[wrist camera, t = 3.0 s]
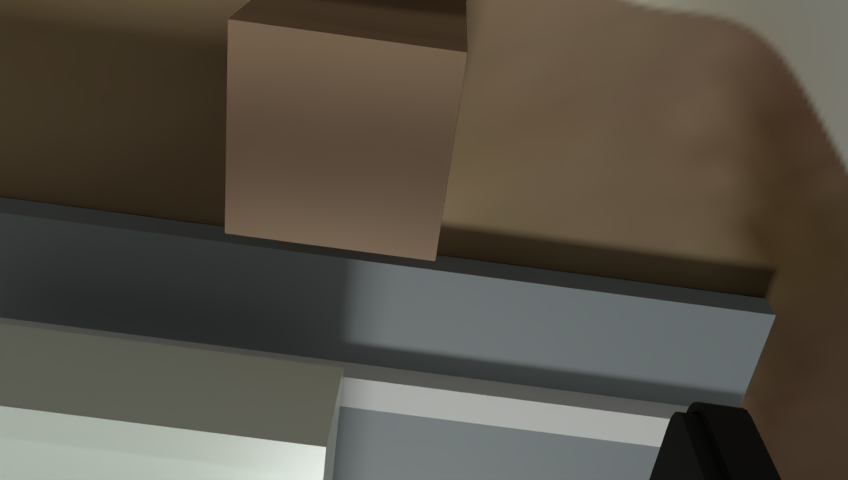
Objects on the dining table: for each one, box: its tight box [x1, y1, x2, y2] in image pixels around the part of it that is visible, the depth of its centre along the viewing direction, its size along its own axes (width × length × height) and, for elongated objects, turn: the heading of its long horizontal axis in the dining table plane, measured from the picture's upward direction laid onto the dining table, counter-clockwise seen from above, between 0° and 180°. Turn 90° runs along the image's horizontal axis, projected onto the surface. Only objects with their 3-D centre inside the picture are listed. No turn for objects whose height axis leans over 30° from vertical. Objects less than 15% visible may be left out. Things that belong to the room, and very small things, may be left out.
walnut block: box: [225, 0, 468, 261], centre depth 20 cm, size 5×5×6 cm
